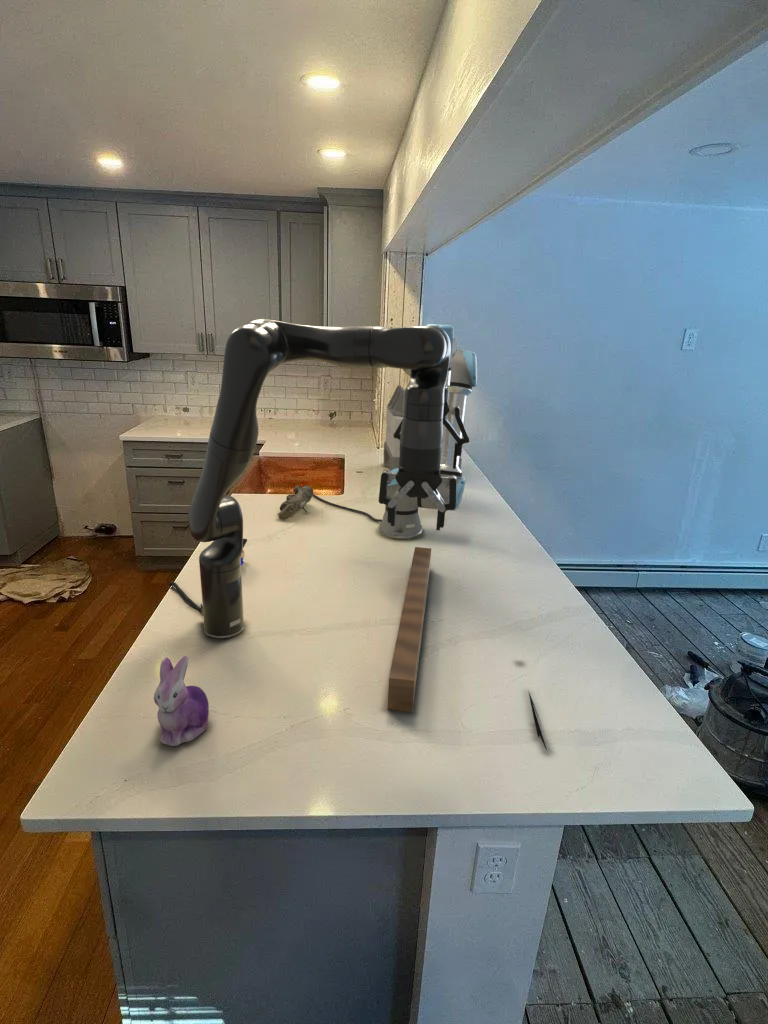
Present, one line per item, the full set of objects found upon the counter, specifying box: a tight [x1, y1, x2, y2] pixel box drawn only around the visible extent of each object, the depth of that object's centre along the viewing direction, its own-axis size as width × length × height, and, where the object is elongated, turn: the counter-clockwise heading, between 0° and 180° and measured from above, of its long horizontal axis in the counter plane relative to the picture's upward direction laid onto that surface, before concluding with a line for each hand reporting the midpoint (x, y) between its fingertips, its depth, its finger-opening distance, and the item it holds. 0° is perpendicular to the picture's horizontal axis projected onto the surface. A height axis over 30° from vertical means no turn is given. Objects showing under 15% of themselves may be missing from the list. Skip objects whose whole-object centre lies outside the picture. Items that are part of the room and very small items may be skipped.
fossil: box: [277, 484, 315, 521], centre depth 215 cm, size 22×10×15 cm
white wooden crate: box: [383, 384, 465, 472], centre depth 268 cm, size 34×33×41 cm
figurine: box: [153, 655, 210, 747], centre depth 102 cm, size 9×10×15 cm
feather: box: [528, 689, 548, 751], centre depth 116 cm, size 2×28×2 cm
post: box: [386, 546, 433, 713], centre depth 141 cm, size 65×5×8 cm, turn 173°
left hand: (415, 527), depth 107 cm, fingers open, 8 cm apart
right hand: (429, 465), depth 155 cm, fingers open, 13 cm apart
